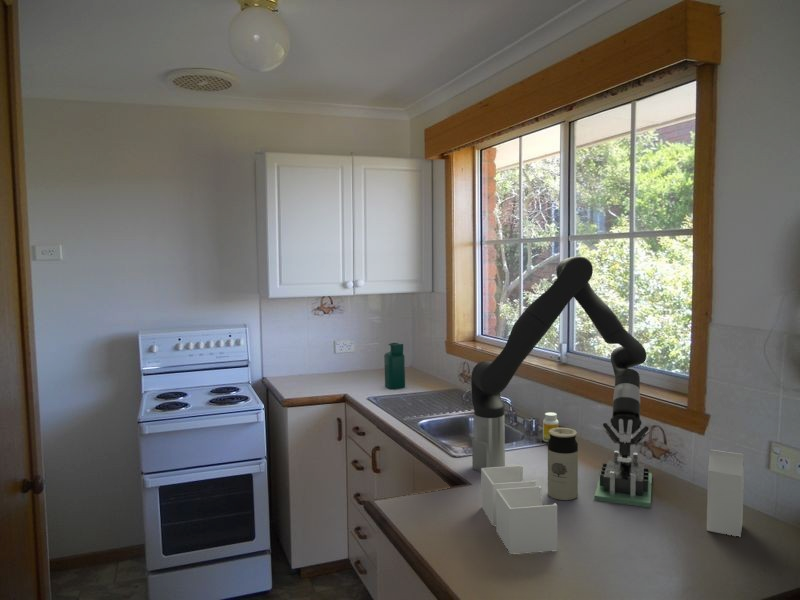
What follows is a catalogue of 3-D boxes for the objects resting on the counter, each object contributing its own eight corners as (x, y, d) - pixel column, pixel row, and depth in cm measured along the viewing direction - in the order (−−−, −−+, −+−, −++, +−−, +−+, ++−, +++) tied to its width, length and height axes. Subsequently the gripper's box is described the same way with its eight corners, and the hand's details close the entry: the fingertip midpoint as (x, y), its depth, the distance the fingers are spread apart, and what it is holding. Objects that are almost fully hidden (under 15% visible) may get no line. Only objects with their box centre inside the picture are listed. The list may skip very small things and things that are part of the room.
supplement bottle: (541, 438, 216) (541, 411, 215) (556, 437, 216) (556, 411, 215) (545, 443, 211) (545, 416, 210) (560, 442, 211) (560, 415, 210)
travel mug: (557, 486, 173) (557, 425, 172) (583, 494, 168) (583, 431, 166) (542, 495, 168) (542, 431, 166) (568, 503, 162) (568, 438, 161)
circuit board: (650, 507, 159) (650, 503, 159) (594, 499, 164) (594, 495, 164) (651, 477, 179) (651, 473, 179) (601, 471, 184) (601, 467, 184)
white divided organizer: (481, 508, 161) (481, 468, 160) (521, 505, 163) (521, 465, 162) (510, 556, 137) (510, 508, 136) (557, 551, 138) (557, 505, 137)
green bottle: (383, 386, 300) (382, 342, 298) (399, 384, 303) (398, 340, 301) (391, 390, 291) (390, 345, 289) (407, 388, 294) (406, 343, 292)
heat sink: (647, 499, 161) (647, 475, 160) (598, 493, 166) (598, 469, 165) (648, 476, 177) (649, 454, 176) (603, 470, 181) (604, 449, 181)
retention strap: (620, 460, 178) (620, 456, 179) (631, 461, 177) (631, 458, 177) (617, 461, 164) (617, 457, 165) (629, 462, 163) (629, 458, 163)
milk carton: (740, 538, 142) (743, 459, 140) (706, 531, 145) (708, 453, 144) (742, 525, 148) (744, 449, 146) (709, 519, 151) (711, 445, 150)
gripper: (602, 394, 180) (599, 448, 171) (650, 397, 175) (650, 453, 165) (603, 407, 186) (600, 460, 176) (650, 410, 181) (650, 465, 171)
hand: (624, 456), depth 171 cm, fingers closed
